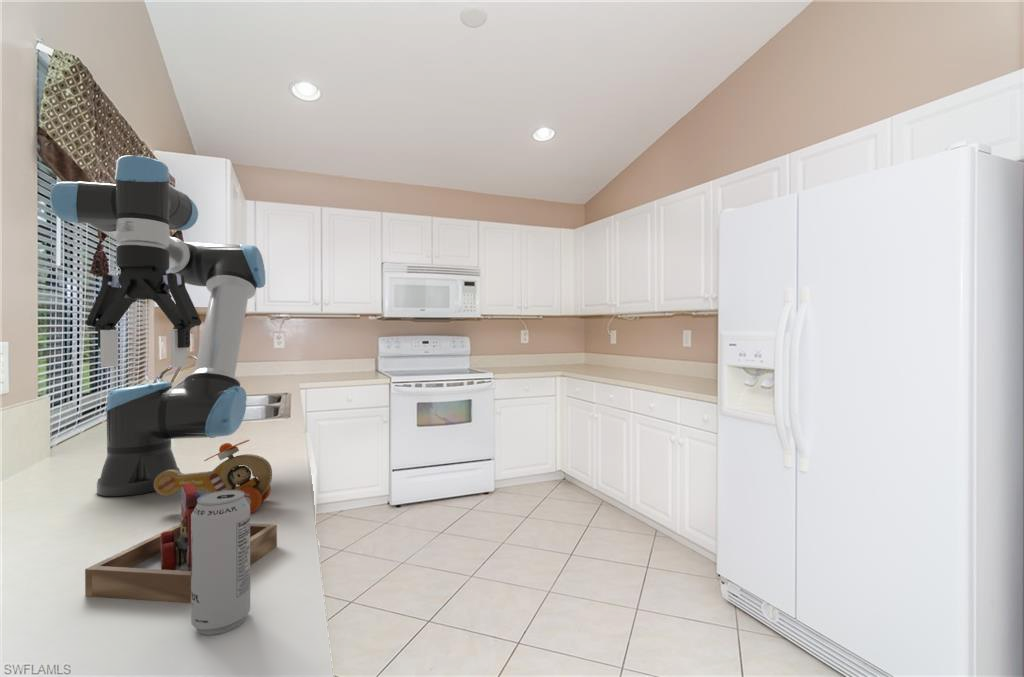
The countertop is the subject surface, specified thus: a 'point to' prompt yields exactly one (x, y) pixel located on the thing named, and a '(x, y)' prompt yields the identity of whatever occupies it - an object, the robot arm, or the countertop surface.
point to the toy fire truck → (180, 549)
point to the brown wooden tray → (158, 569)
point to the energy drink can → (220, 561)
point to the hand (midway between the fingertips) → (143, 366)
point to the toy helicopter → (224, 477)
